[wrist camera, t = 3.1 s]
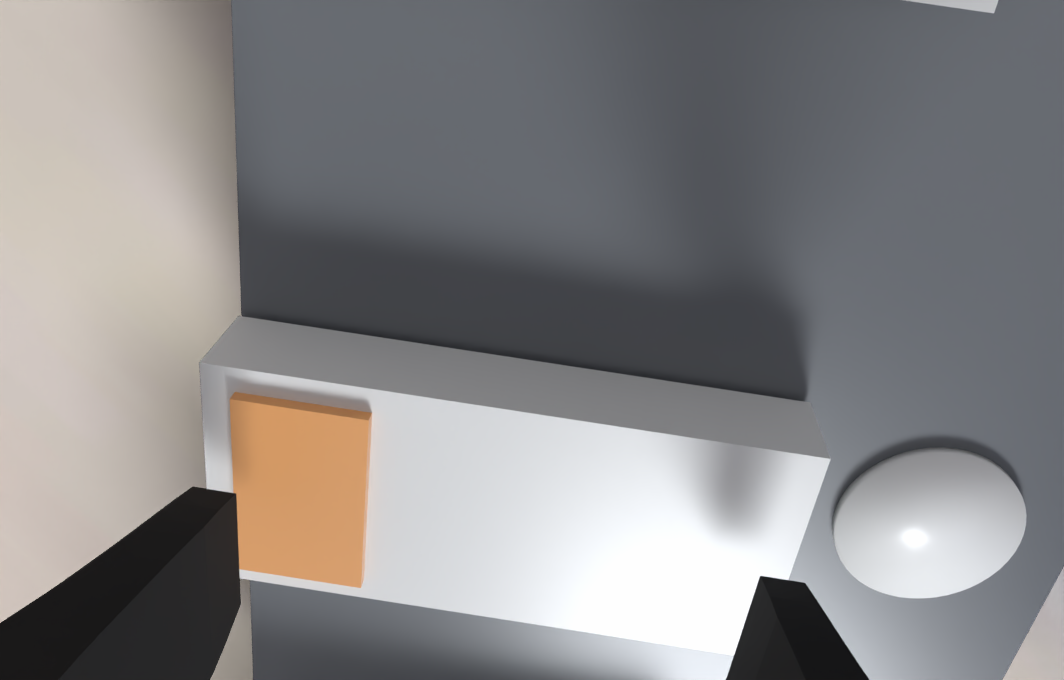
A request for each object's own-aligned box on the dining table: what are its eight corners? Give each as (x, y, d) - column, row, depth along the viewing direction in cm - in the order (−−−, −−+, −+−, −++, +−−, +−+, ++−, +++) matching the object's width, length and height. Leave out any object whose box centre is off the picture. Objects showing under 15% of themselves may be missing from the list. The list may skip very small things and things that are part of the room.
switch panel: (1439, -501, 11) (1729, -630, 8) (810, 866, 24) (836, 999, 21) (303, -656, 11) (195, -836, 8) (299, 785, 24) (257, 906, 21)
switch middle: (810, 402, 14) (833, 467, 12) (748, 593, 16) (762, 669, 14) (238, 315, 14) (193, 369, 12) (245, 515, 16) (206, 582, 14)
